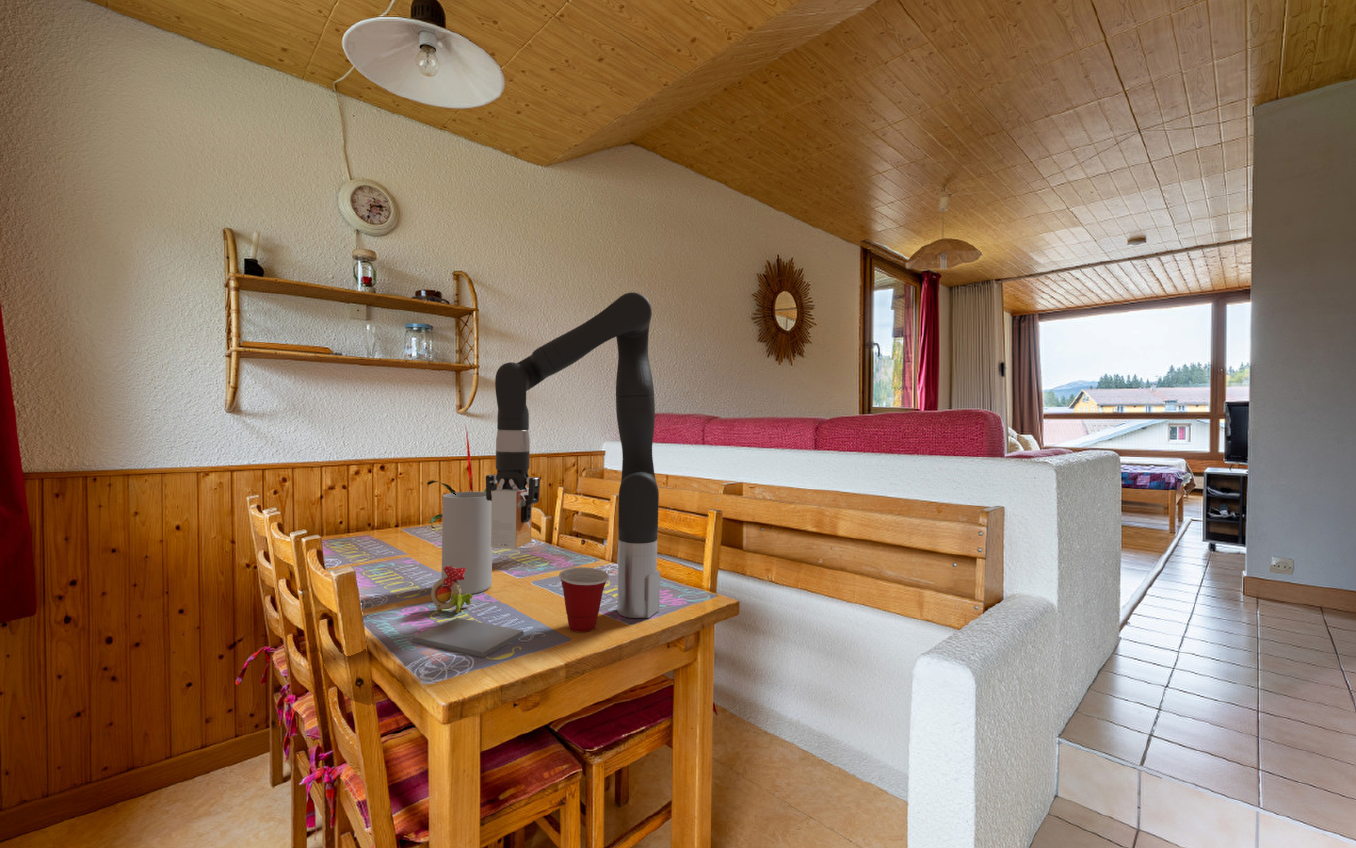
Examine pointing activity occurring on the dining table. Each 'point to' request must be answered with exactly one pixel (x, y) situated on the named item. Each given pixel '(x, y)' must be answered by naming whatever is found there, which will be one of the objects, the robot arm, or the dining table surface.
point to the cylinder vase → (468, 539)
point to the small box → (508, 520)
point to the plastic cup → (583, 596)
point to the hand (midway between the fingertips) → (511, 520)
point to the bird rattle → (450, 590)
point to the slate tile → (468, 637)
